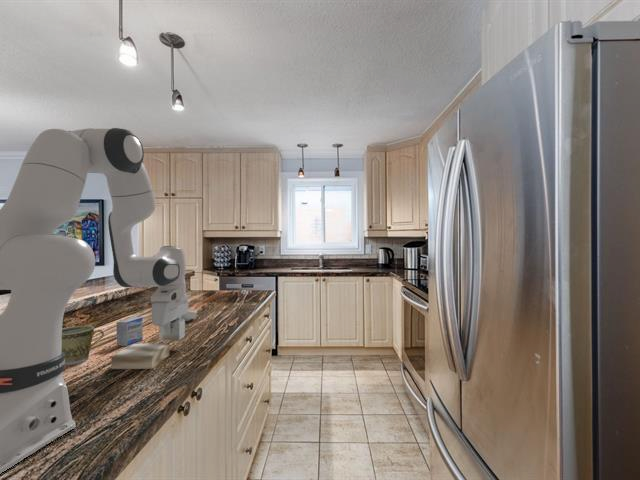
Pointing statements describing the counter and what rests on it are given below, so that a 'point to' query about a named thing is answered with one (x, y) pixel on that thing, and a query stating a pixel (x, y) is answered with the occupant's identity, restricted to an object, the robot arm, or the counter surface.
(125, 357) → the stand
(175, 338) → the block
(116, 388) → the counter surface
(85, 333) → the ceramic cup
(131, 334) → the medicine box
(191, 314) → the spoon rest
